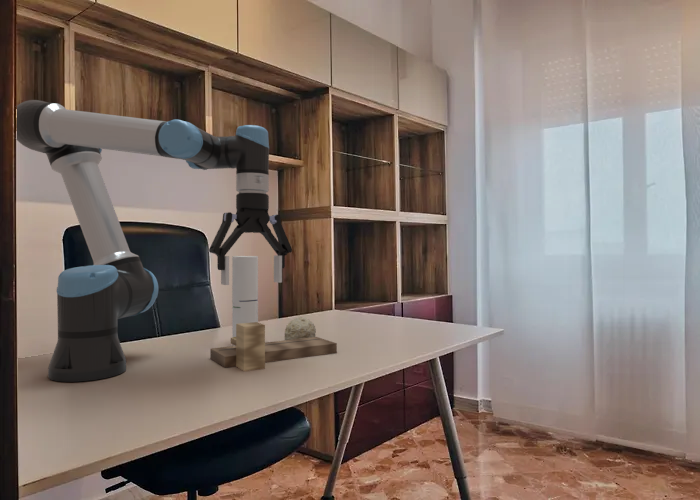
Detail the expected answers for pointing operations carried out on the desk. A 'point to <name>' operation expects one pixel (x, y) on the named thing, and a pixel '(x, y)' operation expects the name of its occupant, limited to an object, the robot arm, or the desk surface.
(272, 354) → the board
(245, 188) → the robot arm
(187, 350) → the desk surface
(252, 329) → the wooden lever on block
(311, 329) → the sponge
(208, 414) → the desk surface
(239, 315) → the cylindrical container
